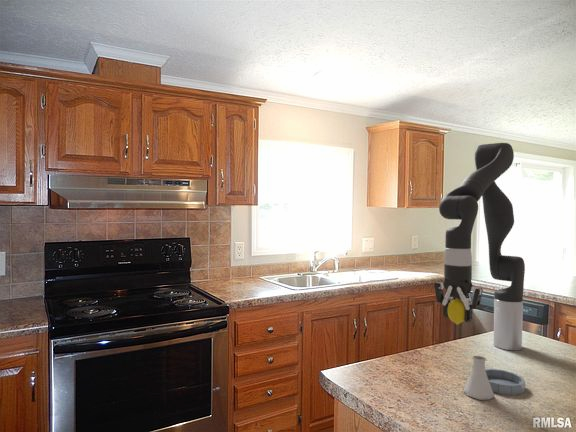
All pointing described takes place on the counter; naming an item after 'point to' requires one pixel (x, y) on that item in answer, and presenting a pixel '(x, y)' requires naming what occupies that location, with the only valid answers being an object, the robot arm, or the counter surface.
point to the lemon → (456, 311)
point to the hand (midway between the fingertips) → (457, 319)
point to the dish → (505, 382)
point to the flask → (478, 381)
